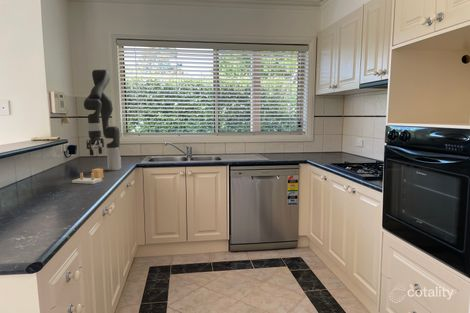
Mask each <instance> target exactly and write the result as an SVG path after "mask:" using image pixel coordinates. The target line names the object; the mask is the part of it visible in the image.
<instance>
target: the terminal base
mask: <svg viewBox="0 0 470 313" xmlns="http://www.w3.org/2000/svg"><path fill="white" fill-rule="evenodd" d="M79 177H80V178H75V179H73V180H71V183H72V184H87V185H89V184H90V185H93V184H97V183H100V182H102V181H103V178H94V173H92V172H91V173H90V177H84V173H83V172H80V173H79Z"/></svg>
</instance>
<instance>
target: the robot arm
mask: <svg viewBox="0 0 470 313" xmlns="http://www.w3.org/2000/svg"><path fill="white" fill-rule="evenodd" d="M91 74H92V75H91V76H92V81H93V84H94V86H93V87H92V88H91V91H90V94H89V95H88V96H87V97H86V98H85V100H84V101H83V107H84V109H85V110H86V111H94V112H93V113H90V114H88V115H87V122H88V123H87V124H88V125H87V130H88V132H87V133H88V138H89V139H86V149H87V150H88V151H89V156H94V155H95V154H94V149H95V148H96V146H97V147H98V149H97V150H98V151H97V152H98V155H102V154H103V148H104V147H105V142H104V138H105V139H112V141H110V142H108V143H106V156H107V157H106V158H107V170H108V171H119V170H121V169H122V157H121V150H120V137H121V136H120V134H121V133H120V128H119V127H118V126H115V125H114V126H113V125H112V126H111V125H110V126H109V122H110V117H111V115H112V113H113V111H114V107H113V101H112V99H111V97H110V96H109V95H108V94H107V93H106V92H105V89H106V88H107V86H108V84H109V82H110V80H111V74H110V72H109V70H107V69H93V70H92V72H91ZM100 118H101V121H100ZM101 124H102V129H101ZM101 131H102V132H101ZM102 133H103V136H104V138H103V137H102Z"/></svg>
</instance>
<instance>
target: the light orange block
mask: <svg viewBox="0 0 470 313" xmlns="http://www.w3.org/2000/svg"><path fill="white" fill-rule="evenodd" d="M91 173H94V178H102V179H103V178H104V177H105V176H104V168H94V169H91Z"/></svg>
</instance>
